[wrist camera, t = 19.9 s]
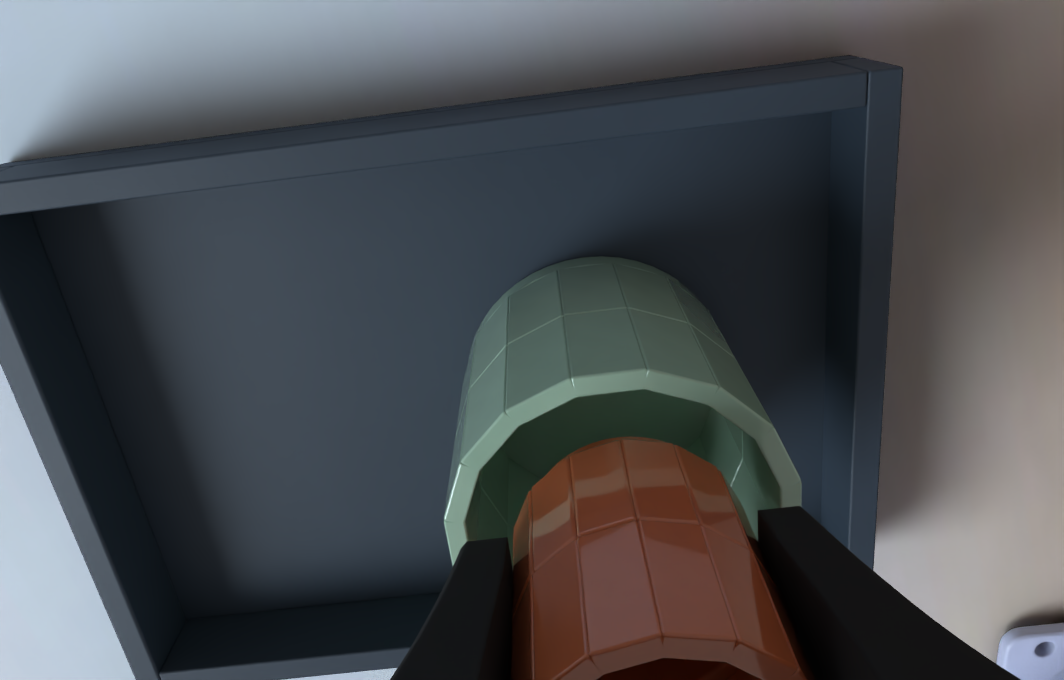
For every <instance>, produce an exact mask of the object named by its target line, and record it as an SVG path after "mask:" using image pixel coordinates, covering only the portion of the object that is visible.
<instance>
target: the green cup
mask: <svg viewBox="0 0 1064 680" xmlns="http://www.w3.org/2000/svg"><path fill="white" fill-rule="evenodd" d="M624 436H637V437H647V438H653V439H658V440H661V441H664V442H668V443H673V444H674V445H678V446H680V447H682V448H683V449H685V450H687V451H689V452H691V453H693V454H694V455H696V456H698V457H700V458H702V459H704V460H705V461H707V462H709V463H711V464H713V465H714V466H716V467H717V469H718V470H719V471H721V472H722V474H723V475H724V477H725V478H726V480H727V481H728V483H729V484H730V486H731V488H732V489H733V491H734V492H735V494H736V495H737V497H738V498H739V500H740V501H741V503H742V505H743V508H744V510H745V512H746V515H747V517H748V520H749V522H750V524H751V527H752V529H753V531H754V534H755V536H756V539H757V541H758V510H765V509H774V508H783V507H793V506H802V482H801V478H800V476H799V474H798V472H797V470H796V468H795V466H794V464H793V462H792V460H791V458H790V456H789V454H788V452H787V451H786V449H785V447H784V445H783V443H782V441H781V439H780V437H779V435H778V433H777V431H776V429H775V427H774V425H773V424H772V422H771V420H770V418H769V417H768V415H767V413H766V411H765V409H764V408H763V406H762V404H761V402H760V401H759V399H758V397H757V395H756V394H755V392H754V390H753V388H752V386H751V385H750V383H749V381H748V379H747V378H746V376H745V374H744V372H743V370H742V369H741V367H740V365H739V363H738V362H737V360H736V358H735V356H734V355H733V353H732V351H731V349H730V347H729V346H728V344H727V342H726V340H725V339H724V337H723V335H722V333H721V331H720V330H719V328H718V326H717V324H716V323H715V321H714V319H713V317H712V316H711V314H710V312H709V310H707V308H706V307H705V306H704V305H703V304H702V303H701V301H700V300H699V299H698V298H697V297H696V295H695V294H694V293H692V292H691V291H690V290H689V289H688V288H687V287H686V286H685V285H684V284H682V283H681V282H680V281H678V280H677V279H675V278H674V277H672V276H671V275H669V274H667V273H665V272H663V271H661V270H659V269H657V268H655V267H653V266H650V265H647V264H644V263H641V262H638V261H634V260H629V259H624V258H619V257H604V256H598V257H583V258H577V259H572V260H566V261H563V262H560V263H557V264H553V265H550V266H547V267H545V268H543V269H541V270H539V271H537V272H534V273H532V274H531V275H529V276H528V277H526V278H524V279H523V280H521V281H520V282H518V283H517V284H515V285H514V286H513V287H512V288H511V289H509V290H508V291H507V292H506V293H504V294H503V295H502V297H501V298H500V299H499V300H498V301H497V302H496V303H495V304H494V305H493V306H492V308H491V309H490V310H489V312H488V313H487V315H486V316H485V318H484V319H483V321H482V323H481V325H480V326H479V328H478V330H477V332H476V334H475V337H474V340H473V343H472V346H471V349H470V354H469V359H468V364H467V369H466V373H465V376H464V380H463V386H462V393H461V400H460V407H459V414H458V421H457V428H456V435H455V442H454V449H453V456H452V463H451V470H450V477H449V484H448V491H447V498H446V505H445V512H444V527H445V532H446V537H447V541H448V546H449V551H450V556H451V561H452V566H453V565H454V563H455V561H456V559H457V556H458V554H459V551H460V549H461V547H462V546H463V545H464V544H465V543H466V542H467V541H475V540H485V539H494V538H503V537H508V543H509V549H510V555H511V561H512V567H513V534H514V526H515V524H516V521H517V519H518V516H519V514H520V511H521V509H522V506H523V504H524V501H525V499H526V496H527V494H528V492H529V491H530V490H531V489H532V487H533V485H535V484H536V483H537V482H538V481H539V480H540V479H542V478H543V477H544V476H545V475H546V474H547V473H548V472H549V471H550V469H551V468H553V467H554V466H555V465H556V464H557V463H558V462H559V461H560V460H561V459H563V458H564V457H566V456H567V455H568V454H570V453H572V452H573V451H575V450H577V449H579V448H581V447H583V446H585V445H588V444H590V443H593V442H596V441H600V440H603V439H608V438H614V437H624Z"/></svg>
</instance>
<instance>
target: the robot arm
mask: <svg viewBox="0 0 1064 680" xmlns="http://www.w3.org/2000/svg"><path fill="white" fill-rule="evenodd" d="M758 543H759V546H760V548H761V550H762V553H763V555H764V558H765V560H766V562H767V565H768V567H769V570H770V572H771V574H772V577H773V579H774V581H775V584H776V588H777V589H778V591H779V593H780V595H781V597H782V600H783V602H784V604H785V607H786V609H787V612H788V614H789V616H790V619H791V621H792V623H793V626H794V628H795V631H796V633H797V635H798V638H799V640H800V642H801V645H802V647H803V650H804V652H805V654H806V657H807V659H808V661H809V664H810V666H811V669H812V671H813V673H814V676H815V678H816V680H1064V623H1055V624H1045V625H1035V626H1025V627H1018V628H1014V629H1011V630H1009V631H1008V632H1006V633H1005V634H1004V635H1003V636H1002V638H1001V640H1000V643H999V649H998V656H997V663H994V662H993V661H991V660H989V659H988V658H986V657H985V656H983V655H982V654H981V653H979V652H978V651H976V650H975V649H973V648H972V647H970V646H969V645H967V644H966V643H965V642H963V641H962V640H960V639H959V638H958V637H956V636H955V635H954V634H952V633H951V632H949V631H948V630H947V629H945V628H944V627H943V626H941V625H940V624H939V623H937V622H936V621H934V620H933V619H932V618H931V617H929V616H928V615H927V614H925V613H924V612H923V611H922V610H920V609H919V608H918V607H916V606H915V605H914V604H913V603H911V602H910V601H909V600H908V599H907V598H905V597H904V596H903V595H902V594H900V593H899V592H898V591H897V590H896V589H894V588H893V587H892V586H891V585H890V584H888V583H887V582H886V581H885V580H883V579H882V578H881V577H880V576H879V575H877V574H876V573H875V572H874V571H873V570H872V569H870V568H869V567H868V566H867V565H866V564H865V563H863V562H862V561H861V560H860V559H859V558H858V557H857V556H855V555H854V554H853V553H852V552H851V551H850V550H849V549H848V548H846V547H845V546H844V545H843V544H842V543H841V542H840V541H839V540H838V539H836V538H835V537H834V536H833V535H832V534H831V533H830V532H829V531H828V530H827V529H825V528H824V527H823V526H822V525H821V524H820V523H819V522H818V521H817V520H816V519H814V518H813V517H812V516H811V515H810V514H809V513H808V512H807V511H805V510H804V509H803V508H802V507H801V506H793V507H783V508H774V509H765V510H758ZM512 605H513V567H512V561H511V555H510V549H509V543H508V537H503V538H494V539H485V540H475V541H467V542H466V543H465V544H464V545H463V546H462V547H461V549H460V551H459V554H458V556H457V559H456V561H455V563H454V565H453V568H452V570H451V572H450V574H449V576H448V579H447V581H446V583H445V585H444V587H443V589H442V591H441V593H440V595H439V597H438V599H437V601H436V603H435V605H434V607H433V608H432V610H431V612H430V614H429V616H428V617H427V619H426V621H425V623H424V625H423V626H422V628H421V630H420V632H419V634H418V635H417V637H416V639H415V641H414V642H413V644H412V646H411V648H410V649H409V651H408V653H407V654H406V656H405V657H404V659H403V661H402V662H401V664H400V665H399V667H398V668H397V670H396V671H395V673H394V675H393V676H392V678H391V679H390V680H511V625H512ZM1040 643H1041V644H1040Z"/></svg>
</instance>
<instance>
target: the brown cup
mask: <svg viewBox="0 0 1064 680" xmlns="http://www.w3.org/2000/svg"><path fill="white" fill-rule="evenodd" d="M511 680H816V678H815V676H814V673H813V671H812V669H811V666H810V664H809V661H808V659H807V657H806V654H805V652H804V650H803V647H802V645H801V642H800V640H799V638H798V635H797V633H796V631H795V628H794V626H793V623H792V621H791V619H790V616H789V614H788V612H787V609H786V607H785V604H784V602H783V600H782V597H781V595H780V593H779V591H778V589H777V588H776V584H775V581H774V579H773V577H772V574H771V572H770V570H769V567H768V565H767V562H766V560H765V558H764V555H763V553H762V550H761V548H760V546H759V543H758V541H757V539H756V536H755V534H754V531H753V529H752V527H751V524H750V522H749V520H748V517H747V515H746V512H745V510H744V508H743V505H742V503H741V501H740V500H739V498H738V497H737V495H736V494H735V492H734V491H733V489H732V488H731V486H730V484H729V483H728V481H727V480H726V478H725V477H724V475H723V474H722V472H721V471H719V470H718V469H717V467H716V466H714V465H713V464H711V463H709V462H707V461H705V460H704V459H702V458H700V457H698V456H696V455H694V454H693V453H691V452H689V451H687V450H685V449H683V448H682V447H680V446H678V445H674V444H673V443H668V442H664V441H661V440H658V439H653V438H647V437H637V436H624V437H614V438H608V439H603V440H600V441H596V442H593V443H590V444H588V445H585V446H583V447H581V448H579V449H577V450H575V451H573V452H572V453H570V454H568V455H567V456H566V457H564V458H563V459H561V460H560V461H559V462H558V463H557V464H556V465H555V466H554V467H553V468H551V469H550V471H549V472H548V473H547V474H546V475H545V476H544V477H543V478H542V479H540V480H539V481H538V482H537V483H536V484H535V485H533V487H532V489H531V490H530V491H529V492H528V494H527V496H526V499H525V501H524V504H523V506H522V509H521V511H520V514H519V516H518V519H517V521H516V524H515V526H514V534H513V605H512V625H511Z"/></svg>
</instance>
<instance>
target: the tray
mask: <svg viewBox="0 0 1064 680" xmlns="http://www.w3.org/2000/svg"><path fill="white" fill-rule="evenodd" d="M902 80H903V68H902V67H900V66H896V65H891V64H887V63H883V62H879V61H874V60H870V59H866V58H859V57H856V56H851V55H847V56H839V57H831V58H823V59H815V60H807V61H800V62H792V63H784V64H776V65H768V66H761V67H753V68H745V69H737V70H729V71H722V72H714V73H706V74H698V75H690V76H683V77H675V78H667V79H659V80H651V81H644V82H636V83H628V84H620V85H612V86H604V87H597V88H589V89H581V90H573V91H565V92H558V93H550V94H542V95H534V96H526V97H519V98H511V99H503V100H495V101H487V102H480V103H472V104H464V105H456V106H448V107H441V108H433V109H425V110H417V111H409V112H401V113H394V114H386V115H378V116H370V117H362V118H355V119H347V120H339V121H331V122H323V123H316V124H308V125H300V126H292V127H284V128H277V129H269V130H261V131H253V132H245V133H238V134H230V135H222V136H214V137H206V138H199V139H191V140H183V141H175V142H167V143H159V144H152V145H144V146H136V147H128V148H120V149H113V150H105V151H97V152H89V153H81V154H74V155H66V156H58V157H50V158H42V159H35V160H27V161H19V162H11V163H4V164H1V165H0V364H1V366H2V368H3V371H4V373H5V375H6V378H7V380H8V382H9V385H10V387H11V389H12V392H13V394H14V396H15V399H16V401H17V403H18V406H19V408H20V410H21V413H22V415H23V417H24V420H25V422H26V424H27V427H28V429H29V431H30V434H31V436H32V438H33V441H34V443H35V445H36V448H37V450H38V452H39V455H40V457H41V459H42V462H43V464H44V466H45V469H46V471H47V473H48V476H49V478H50V480H51V483H52V485H53V487H54V490H55V492H56V494H57V497H58V499H59V501H60V504H61V506H62V508H63V511H64V513H65V515H66V518H67V520H68V522H69V525H70V527H71V529H72V532H73V534H74V536H75V539H76V541H77V543H78V546H79V548H80V550H81V553H82V555H83V557H84V560H85V562H86V564H87V567H88V569H89V571H90V574H91V576H92V578H93V581H94V583H95V585H96V588H97V590H98V592H99V595H100V597H101V599H102V602H103V604H104V606H105V609H106V611H107V613H108V616H109V618H110V620H111V623H112V625H113V627H114V630H115V632H116V634H117V637H118V639H119V641H120V644H121V646H122V648H123V651H124V653H125V655H126V658H127V660H128V662H129V665H130V667H131V669H132V672H133V674H134V676H135V679H136V680H281V679H291V678H301V677H310V676H320V675H330V674H340V673H350V672H359V671H369V670H379V669H389V668H398V667H399V665H400V664H401V662H402V661H403V659H404V657H405V656H406V654H407V653H408V651H409V649H410V648H411V646H412V644H413V642H414V641H415V639H416V637H417V635H418V634H419V632H420V630H421V628H422V626H423V625H424V623H425V621H426V619H427V617H428V616H429V614H430V612H431V610H432V608H433V607H434V605H435V603H436V601H437V599H438V597H439V595H440V593H441V591H442V589H443V587H444V585H445V583H446V581H447V579H448V576H449V574H450V572H451V570H452V568H453V566H452V561H451V556H450V551H449V546H448V541H447V537H446V532H445V527H444V512H445V505H446V498H447V491H448V484H449V477H450V470H451V463H452V456H453V449H454V442H455V435H456V428H457V421H458V414H459V407H460V400H461V393H462V386H463V380H464V376H465V373H466V369H467V364H468V359H469V354H470V349H471V346H472V343H473V340H474V337H475V334H476V332H477V330H478V328H479V326H480V325H481V323H482V321H483V319H484V318H485V316H486V315H487V313H488V312H489V310H490V309H491V308H492V306H493V305H494V304H495V303H496V302H497V301H498V300H499V299H500V298H501V297H502V295H503V294H504V293H506V292H507V291H508V290H509V289H511V288H512V287H513V286H514V285H515V284H517V283H518V282H520V281H521V280H523V279H524V278H526V277H528V276H529V275H531V274H532V273H534V272H537V271H539V270H541V269H543V268H545V267H547V266H550V265H553V264H557V263H560V262H563V261H566V260H572V259H577V258H583V257H598V256H604V257H619V258H624V259H629V260H634V261H638V262H641V263H644V264H647V265H650V266H653V267H655V268H657V269H659V270H661V271H663V272H665V273H667V274H669V275H671V276H672V277H674V278H675V279H677V280H678V281H680V282H681V283H682V284H684V285H685V286H686V287H687V288H688V289H689V290H690V291H691V292H692V293H694V294H695V295H696V297H697V298H698V299H699V300H700V301H701V303H702V304H703V305H704V306H705V307H706V308H707V310H709V312H710V314H711V316H712V317H713V319H714V321H715V323H716V324H717V326H718V328H719V330H720V331H721V333H722V335H723V337H724V339H725V340H726V342H727V344H728V346H729V347H730V349H731V351H732V353H733V355H734V356H735V358H736V360H737V362H738V363H739V365H740V367H741V369H742V370H743V372H744V374H745V376H746V378H747V379H748V381H749V383H750V385H751V386H752V388H753V390H754V392H755V394H756V395H757V397H758V399H759V401H760V402H761V404H762V406H763V408H764V409H765V411H766V413H767V415H768V417H769V418H770V420H771V422H772V424H773V425H774V427H775V429H776V431H777V433H778V435H779V437H780V439H781V441H782V443H783V445H784V447H785V449H786V451H787V452H788V454H789V456H790V458H791V460H792V462H793V464H794V466H795V468H796V470H797V472H798V474H799V476H800V478H801V482H802V506H801V507H802V508H803V509H804V510H805V511H807V512H808V513H809V514H810V515H811V516H812V517H813V518H814V519H816V520H817V521H818V522H819V523H820V524H821V525H822V526H823V527H824V528H825V529H827V530H828V531H829V532H830V533H831V534H832V535H833V536H834V537H835V538H836V539H838V540H839V541H840V542H841V543H842V544H843V545H844V546H845V547H846V548H848V549H849V550H850V551H851V552H852V553H853V554H854V555H855V556H857V557H858V558H859V559H860V560H861V561H862V562H863V563H865V564H866V565H867V566H868V567H869V568H870V569H872V570H873V566H874V549H875V532H876V515H877V499H878V482H879V465H880V448H881V432H882V415H883V398H884V381H885V365H886V348H887V331H888V314H889V298H890V281H891V264H892V247H893V231H894V214H895V197H896V180H897V164H898V147H899V130H900V113H901V97H902Z"/></svg>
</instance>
